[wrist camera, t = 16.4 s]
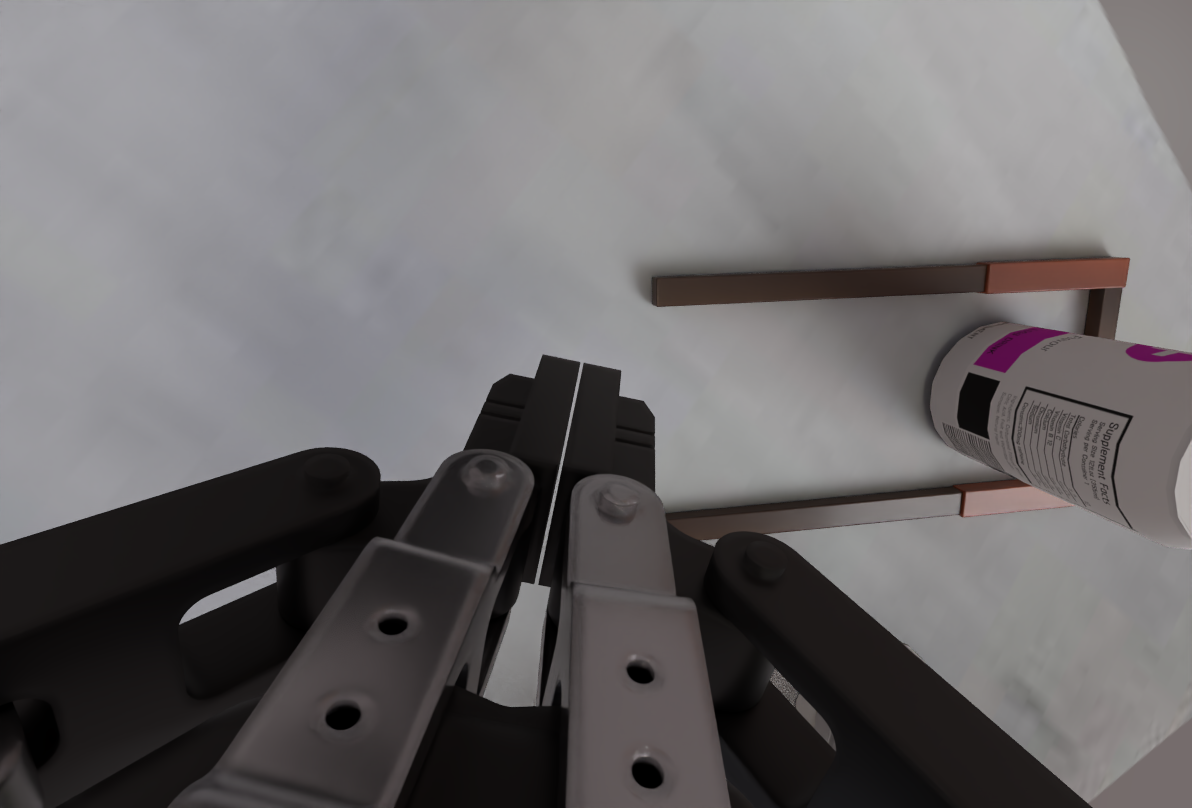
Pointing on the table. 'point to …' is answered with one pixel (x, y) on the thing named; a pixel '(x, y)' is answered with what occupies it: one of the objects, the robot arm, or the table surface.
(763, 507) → the slide track
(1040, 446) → the supplement can
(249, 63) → the table surface
